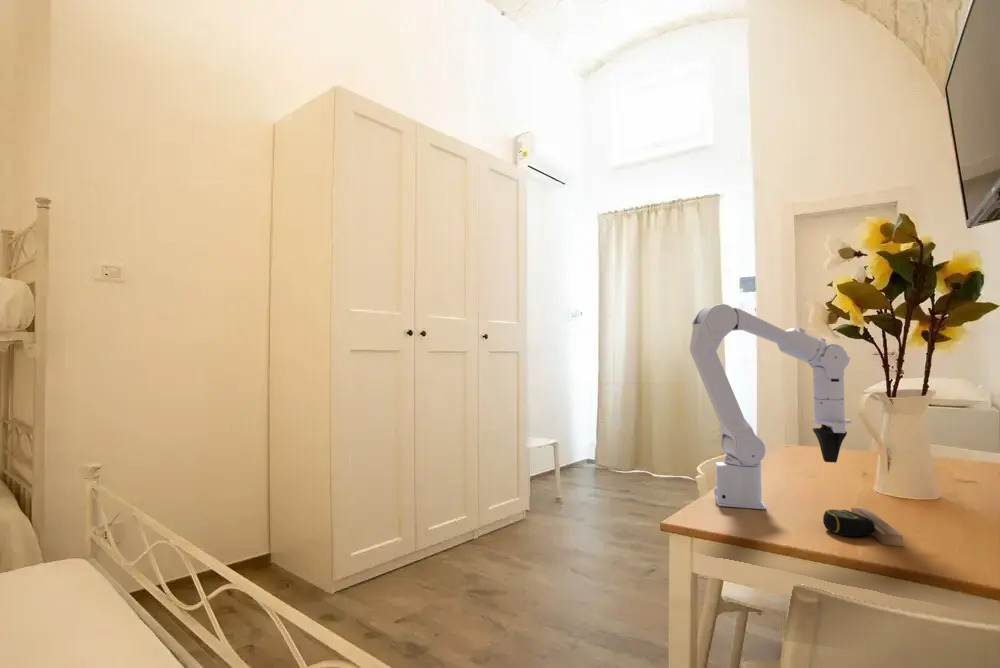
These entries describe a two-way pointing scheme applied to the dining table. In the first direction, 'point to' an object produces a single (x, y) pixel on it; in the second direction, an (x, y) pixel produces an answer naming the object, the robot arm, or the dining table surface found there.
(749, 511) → the dining table surface
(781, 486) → the dining table surface
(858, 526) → the tape measure
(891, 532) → the board
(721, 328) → the robot arm
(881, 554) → the dining table surface
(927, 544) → the dining table surface
